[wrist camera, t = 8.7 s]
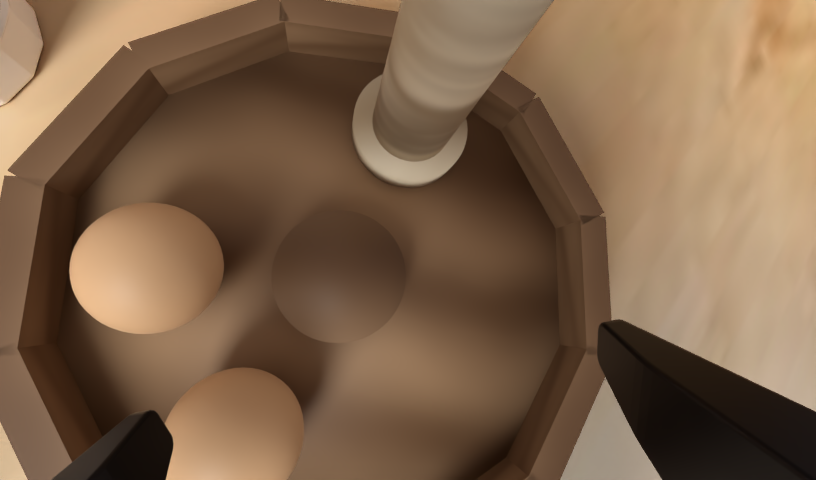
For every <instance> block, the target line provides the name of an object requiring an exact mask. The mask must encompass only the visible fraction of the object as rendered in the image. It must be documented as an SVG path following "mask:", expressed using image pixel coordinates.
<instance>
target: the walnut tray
mask: <svg viewBox="0 0 816 480" xmlns="http://www.w3.org/2000/svg"><path fill="white" fill-rule="evenodd" d="M397 16H398V12H395V11H388V10H382V9H375V8H369V7H363V6H356V5H350V4H343V3H337V2H331V1H324V0H280V1H279V0H257V1H253V2H250V3H247V4H244V5H241V6H238V7H235V8H232V9H229V10H226V11H223V12H220V13H217V14H214V15H211V16H207V17H204V18H201V19H198V20H195V21H192V22H189V23H186V24H183V25H180V26H177V27H174V28H171V29H168V30H164V31H161V32H158V33H155V34H152V35H149V36H146V37H143V38H140V39H137V40H134V41H131V42H128V43H129V45H130V47H131V49H132V50H130V49H129V48H127V47H125V46H124V45H123V46H122V47H121V48H120V50H119V51H118V52H117V53H116V54H115V55H114V56H113V57H112V58H111V59H110V60H109V61H108V62H107V64H106V65H105V66H104V67H103V68H102V69H101V70H100V71H99V72H98V73H97V74H96V75H95V76H94V78H93V79H92V80H91V81H90V82H89V83H88V84H87V85H86V86H85V87H84V88H83V89H82V90H81V91H80V93H79V94H78V95H77V96H76V97H75V98H74V99H73V100H72V101H71V102H70V103H69V104H68V105H67V107H66V108H65V109H64V110H63V111H62V112H61V113H60V114H59V115H58V116H57V117H56V118H55V119H54V121H53V122H52V123H51V124H50V125H49V126H48V127H47V128H46V129H45V130H44V131H43V132H42V133H41V135H40V136H39V137H38V138H37V139H36V140H35V141H34V142H33V143H32V144H31V145H30V146H29V147H28V149H27V150H26V151H25V152H24V153H23V154H22V155H21V156H20V157H19V158H18V159H17V160H16V161H15V163H14V164H13V165H12V166H11V167H10V168H9V169H8V171H9V172H11V173H13V174H14V175H16V176H4V181H3V186H2V192H1V197H0V422H1V424H2V426H3V428H4V430H5V432H6V435H7V437H8V439H9V441H10V443H11V445H12V447H13V449H14V451H15V454H16V456H17V458H18V460H19V462H20V464H21V466H22V468H23V470H24V473H25V475H26V477H27V479H28V480H51V479H52V478H53V477H55V476H56V475H57V474H58V473H60V472H61V471H62V470H63V469H64V468H66V467H67V466H68V465H69V464H70V463H72V462H73V461H74V460H75V459H76V458H78V457H79V456H80V455H81V454H83V453H84V452H85V451H86V450H87V449H89V448H90V447H91V446H92V445H93V444H95V443H96V442H97V441H98V440H99V439H101V438H102V437H103V436H104V435H106V434H107V433H108V432H109V431H110V430H112V429H113V428H114V427H115V426H116V425H118V424H119V423H120V422H121V421H123V420H124V419H125V418H126V417H127V416H129V415H130V414H133V413H136V412H141V411H146V410H154V411H156V412H157V413H158V414H159V416H160V417H161V419H162V420H163V422H164V424H165V422H166V420H167V417H168V416H169V414H170V412H171V410H172V409H173V407H174V406H175V404H176V403H177V402H178V400H179V399H180V398H181V397H182V396H183V395H184V394H185V393H186V392H187V391H188V390H189V389H190V388H191V387H193V386H194V385H195V384H196V383H198V382H199V381H201V380H203V379H204V378H206V377H208V376H210V375H212V374H214V373H217V372H220V371H223V370H227V369H232V368H242V367H245V368H255V369H260V370H263V371H266V372H268V373H270V374H272V375H274V376H276V377H278V378H279V379H280V380H282V381H283V382H284V383H285V384H286V385H287V386H288V387H289V388H290V389H291V390H292V392H293V393H294V395H295V396H296V398H297V400H298V402H299V405H300V407H301V411H302V414H303V421H304V439H303V445H302V449H301V453H300V456H299V458H298V461H297V464H296V466H295V468H294V469H293V471H292V473H291V475H290V476H289V478H288V479H287V480H560V478H561V476H562V474H563V471H564V469H565V467H566V465H567V462H568V460H569V458H570V456H571V453H572V451H573V449H574V446H575V444H576V442H577V440H578V437H579V435H580V433H581V430H582V428H583V426H584V424H585V421H586V419H587V417H588V414H589V412H590V410H591V408H592V405H593V403H594V401H595V398H596V396H597V394H598V392H599V389H600V387H601V385H602V382H603V380H604V378H605V375H604V373H603V371H602V369H601V367H600V365H599V362H598V358H597V342H598V327H599V325H600V324H601V323H603V322H607V321H611V306H610V289H609V271H608V254H607V237H606V220H605V217H600V216H599V215H601V214H602V213H604V212H603V210H602V208H601V206H600V205H599V203H598V201H597V199H596V197H595V196H594V194H593V192H592V190H591V189H590V187H589V185H588V183H587V181H586V180H585V178H584V176H583V174H582V173H581V171H580V169H579V167H578V166H577V164H576V162H575V160H574V158H573V157H572V155H571V153H570V151H569V150H568V148H567V146H566V144H565V143H564V141H563V139H562V137H561V135H560V134H559V132H558V130H557V128H556V127H555V125H554V123H553V121H552V120H551V118H550V116H549V114H548V112H547V111H546V109H545V107H544V105H543V104H542V102H541V100H540V98H539V97H538V98H536V99H534V100H533V98H534V96H535V95H536V94H535V93H534V92H532V91H531V90H530V89H528V88H527V87H525V86H524V85H522V84H521V83H520V82H518V81H517V80H515V79H514V78H512V77H511V76H509V75H508V74H507V73H505V72H504V71H502V70H501V72H500V73H499V74H498V76H497V77H496V78H495V80H494V81H493V82H492V84H491V85H490V86H489V88H488V89H487V90H486V92H485V93H484V94H483V96H482V97H481V98H480V100H479V101H478V102H477V104H476V105H475V106H474V108H473V109H472V110H471V112H470V113H469V114H468V116H467V117H466V120H467V129H468V131H467V140H466V144H465V147H464V150H463V152H462V154H461V156H460V157H459V159H458V160H457V161H456V163H455V164H454V165H453V166H452V167H451V168H450V169H449V170H448V171H447V172H446V173H445V174H444V175H443V176H442V177H441V178H439V179H438V180H436V181H435V182H433V183H431V184H428V185H426V186H422V187H416V188H403V187H397V186H393V185H390V184H388V183H385V182H383V181H382V180H380V179H378V178H377V177H375V176H374V175H373V174H371V173H370V172H369V171H368V170H367V169H366V168H365V166H364V165H363V164H362V163H361V161H360V159H359V158H358V156H357V154H356V152H355V149H354V146H353V142H352V130H351V129H352V121H353V114H354V109H355V105H356V102H357V100H358V97H359V95H360V94H361V92H362V91H363V89H364V88H365V87H366V86H367V85H368V84H369V83H370V82H371V81H372V80H374V79H375V78H377V77H378V76H380V75H382V74H383V72H384V68H385V64H386V60H387V56H388V52H389V48H390V44H391V40H392V36H393V32H394V28H395V24H396V20H397ZM136 203H161V204H168V205H172V206H176V207H178V208H181V209H184V210H186V211H188V212H190V213H192V214H193V215H195V216H196V217H198V218H199V219H201V220H202V221H203V222H204V223H205V224H206V225H207V226H208V227H209V228H210V229H211V231H212V232H213V233H214V235H215V236H216V238H217V240H218V242H219V244H220V246H221V250H222V254H223V259H224V273H223V279H222V283H221V286H220V288H219V290H218V293H217V295H216V296H215V298H214V299H213V301H212V302H211V303H210V305H209V306H208V307H207V308H206V309H205V310H204V311H203V312H202V313H201V314H200V315H199V316H197V317H196V318H195V319H193V320H192V321H190V322H188V323H187V324H185V325H183V326H180V327H178V328H175V329H172V330H169V331H166V332H161V333H155V334H133V333H127V332H122V331H119V330H116V329H113V328H110V327H108V326H106V325H104V324H102V323H100V322H99V321H97V320H96V319H95V318H93V317H92V316H91V315H90V314H89V313H88V312H87V311H86V310H85V309H84V308H83V307H82V306H81V304H80V303H79V301H78V300H77V298H76V296H75V294H74V292H73V289H72V285H71V281H70V273H69V268H70V260H71V255H72V252H73V249H74V247H75V245H76V243H77V241H78V239H79V238H80V236H81V235H82V234H83V232H84V231H85V230H86V229H87V228H88V227H89V226H90V225H91V224H92V223H93V222H95V221H96V220H97V219H98V218H100V217H101V216H103V215H105V214H106V213H108V212H110V211H112V210H114V209H117V208H120V207H123V206H127V205H131V204H136Z"/></svg>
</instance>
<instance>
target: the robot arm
mask: <svg viewBox="0 0 816 480" xmlns="http://www.w3.org/2000/svg"><path fill="white" fill-rule="evenodd" d="M597 358H598V362H599V365H600V367H601V369H602V371H603V373H604V375H605V377H606V379H607V381H608V383H609V385H610V387H611V389H612V391H613V393H614V395H615V397H616V399H617V401H618V403H619V405H620V407H621V409H622V411H623V413H624V415H625V417H626V419H627V421H628V423H629V425H630V427H631V429H632V431H633V433H634V435H635V437H636V438H637V440H638V442H639V443H640V445H641V447H642V448H643V450H644V451H645V453H646V455H647V456H648V458H649V459H650V461H651V462H652V464H653V466H654V467H655V469H656V470H657V472H658V473H659V475H660V477H661V478H662V480H816V412H815V411H813V410H811V409H809V408H807V407H805V406H803V405H801V404H799V403H796V402H794V401H792V400H790V399H788V398H786V397H784V396H782V395H780V394H777V393H775V392H773V391H771V390H769V389H767V388H765V387H763V386H761V385H758V384H756V383H754V382H752V381H750V380H748V379H746V378H744V377H742V376H740V375H737V374H735V373H733V372H731V371H729V370H727V369H725V368H723V367H721V366H718V365H716V364H714V363H712V362H710V361H708V360H706V359H704V358H702V357H700V356H697V355H695V354H693V353H691V352H689V351H687V350H685V349H683V348H681V347H678V346H676V345H674V344H672V343H670V342H668V341H666V340H664V339H662V338H659V337H657V336H655V335H653V334H651V333H649V332H647V331H645V330H643V329H641V328H638V327H636V326H634V325H632V324H630V323H628V322H626V321H623V320H612V321H607V322H603V323H601V324H600V325H599V327H598V342H597ZM173 445H174V443H173V437H172V435H171V433H170V432H169V430H168V428H167V427H166V425H165V424H164V422H163V420H162V419H161V417H160V416H159V414H158V413H157V412H156V411H154V410H146V411H141V412H136V413H133V414H130V415H129V416H127V417H126V418H125V419H124V420H123V421H121V422H120V423H119V424H118V425H116V426H115V427H114V428H113V429H112V430H110V431H109V432H108V433H107V434H106V435H104V436H103V437H102V438H101V439H99V440H98V441H97V442H96V443H95V444H93V445H92V446H91V447H90V448H89V449H87V450H86V451H85V452H84V453H83V454H81V455H80V456H79V457H78V458H76V459H75V460H74V461H73V462H72V463H70V464H69V465H68V466H67V467H66V468H64V469H63V470H62V471H61V472H60V473H58V474H57V475H56V476H55V477H53V478H52V479H51V480H166V477H167V473H168V469H169V464H170V460H171V456H172V452H173Z"/></svg>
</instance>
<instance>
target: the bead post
mask: <svg viewBox="0 0 816 480" xmlns="http://www.w3.org/2000/svg"><path fill="white" fill-rule="evenodd" d="M553 1H554V0H401V4H400V8H399V12H398V16H397V20H396V24H395V28H394V32H393V36H392V40H391V44H390V48H389V52H388V56H387V60H386V64H385V68H384V72H383V74H382V75H380V76H378V77H377V78H375V79H374V80H372V81H371V82H370V83H369V84H368V85H367V86H366V87H365V88H364V89H363V91H362V92H361V94H360V95H359V97H358V100H357V102H356V105H355V109H354V114H353V121H352V129H351V130H352V142H353V146H354V149H355V152H356V154H357V156H358V158H359V159H360V161H361V163H362V164H363V165H364V166H365V168H366V169H367V170H368V171H369V172H370V173H371V174H373V175H374V176H375V177H377V178H378V179H380V180H382V181H383V182H385V183H388V184H390V185H393V186H397V187H403V188H416V187H422V186H426V185H428V184H431V183H433V182H435V181H436V180H438V179H439V178H441V177H442V176H443V175H444V174H445V173H446V172H447V171H448V170H449V169H450V168H451V167H452V166H453V165H454V164H455V163H456V161H457V160H458V159H459V157H460V156H461V154H462V152H463V150H464V147H465V144H466V140H467V131H468V129H467V120H466V117H467V116H468V114H469V113H470V112H471V110H472V109H473V108H474V106H475V105H476V104H477V102H478V101H479V100H480V98H481V97H482V96H483V94H484V93H485V92H486V90H487V89H488V88H489V86H490V85H491V84H492V82H493V81H494V80H495V78H496V77H497V76H498V74H499V73H500V72H501V70H502V69H503V68H504V66H505V65H506V64H507V62H508V61H509V60H510V58H511V57H512V56H513V54H514V53H515V52H516V50H517V49H518V48H519V46H520V45H521V43H522V42H523V41H524V39H525V38H526V37H527V35H528V34H529V33H530V31H531V30H532V29H533V27H534V26H535V25H536V23H537V22H538V21H539V19H540V18H541V17H542V15H543V14H544V13H545V11H546V10H547V9H548V7H549V6H550V5H551V3H552V2H553Z"/></svg>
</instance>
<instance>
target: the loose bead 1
mask: <svg viewBox="0 0 816 480" xmlns="http://www.w3.org/2000/svg"><path fill="white" fill-rule="evenodd" d="M69 273H70V281H71V285H72V289H73V292H74V294H75V296H76V298H77V300H78V301H79V303H80V304H81V306H82V307H83V308H84V309H85V310H86V311H87V312H88V313H89V314H90V315H91V316H92V317H93V318H95V319H96V320H97V321H99V322H100V323H102V324H104V325H106V326H108V327H110V328H113V329H116V330H119V331H122V332H127V333H133V334H155V333H161V332H166V331H169V330H172V329H175V328H178V327H180V326H183V325H185V324H187V323H188V322H190V321H192V320H193V319H195V318H196V317H197V316H199V315H200V314H201V313H202V312H203V311H204V310H205V309H206V308H207V307H208V306H209V305H210V303H211V302H212V301H213V299H214V298H215V296H216V295H217V293H218V290H219V288H220V286H221V283H222V279H223V273H224V259H223V254H222V250H221V246H220V244H219V242H218V240H217V238H216V236H215V235H214V233H213V232H212V231H211V229H210V228H209V227H208V226H207V225H206V224H205V223H204V222H203V221H202V220H201V219H199V218H198V217H196V216H195V215H193V214H192V213H190V212H188V211H186V210H184V209H181V208H178V207H176V206H172V205H168V204H161V203H136V204H131V205H127V206H123V207H120V208H117V209H114V210H112V211H110V212H108V213H106V214H105V215H103V216H101V217H100V218H98V219H97V220H96V221H95V222H93V223H92V224H91V225H90V226H89V227H88V228H87V229H86V230H85V231H84V232H83V234H82V235H81V236H80V238H79V239H78V241H77V243H76V245H75V247H74V249H73V252H72V255H71V260H70V268H69Z"/></svg>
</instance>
